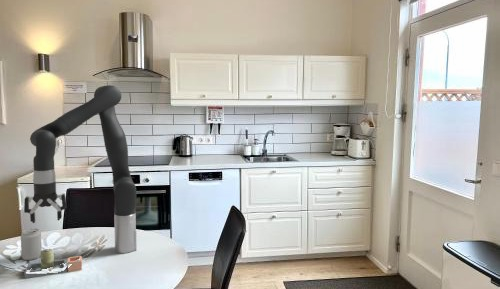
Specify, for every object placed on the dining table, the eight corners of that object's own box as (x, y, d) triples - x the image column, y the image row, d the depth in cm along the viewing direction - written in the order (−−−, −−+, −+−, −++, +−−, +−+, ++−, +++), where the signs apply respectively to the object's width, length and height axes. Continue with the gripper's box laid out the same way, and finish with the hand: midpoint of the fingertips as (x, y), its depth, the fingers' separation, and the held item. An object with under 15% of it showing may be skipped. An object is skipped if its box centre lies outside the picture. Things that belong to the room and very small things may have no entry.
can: (32, 261, 149) (31, 234, 148) (17, 260, 150) (16, 232, 149) (45, 254, 156) (45, 228, 155) (31, 252, 158) (30, 226, 156)
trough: (68, 263, 149) (67, 258, 148) (66, 272, 141) (66, 267, 140) (28, 268, 143) (28, 263, 143) (24, 278, 135) (24, 273, 135)
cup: (81, 264, 147) (81, 255, 147) (81, 270, 143) (81, 260, 142) (68, 266, 145) (68, 257, 145) (67, 272, 141) (67, 262, 140)
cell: (54, 266, 145) (53, 246, 144) (53, 271, 141) (52, 251, 140) (42, 268, 143) (41, 248, 142) (40, 273, 139) (39, 252, 138)
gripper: (65, 177, 145) (67, 216, 146) (24, 180, 139) (26, 220, 141) (64, 181, 138) (66, 222, 140) (21, 184, 132) (23, 226, 134)
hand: (46, 221), depth 140 cm, fingers open, 8 cm apart
